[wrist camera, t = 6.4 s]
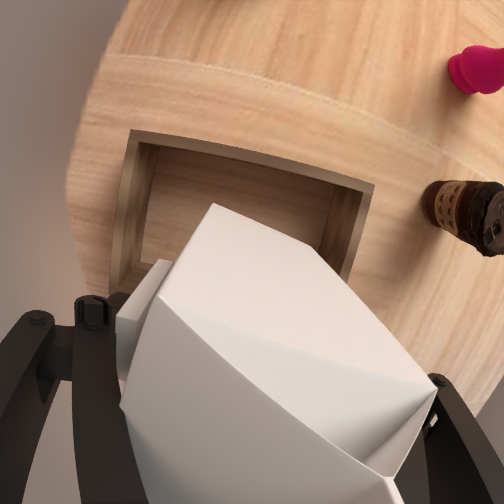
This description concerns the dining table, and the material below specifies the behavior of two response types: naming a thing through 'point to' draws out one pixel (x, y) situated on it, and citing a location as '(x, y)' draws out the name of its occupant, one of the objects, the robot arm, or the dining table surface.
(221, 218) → the milk carton
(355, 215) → the crate
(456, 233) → the coffee cup
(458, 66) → the pepper mill
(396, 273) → the dining table surface
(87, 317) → the robot arm
